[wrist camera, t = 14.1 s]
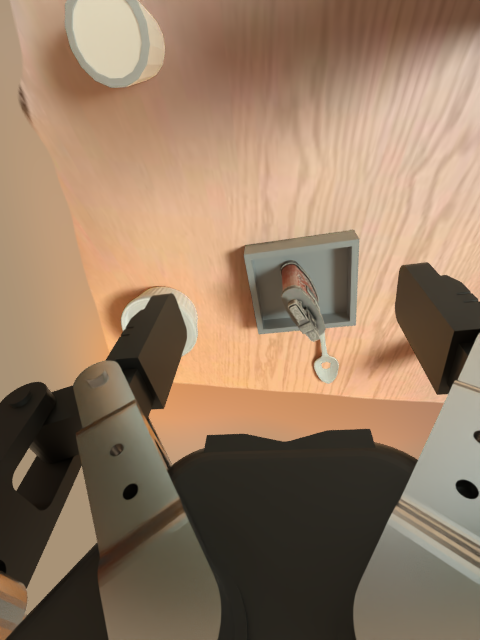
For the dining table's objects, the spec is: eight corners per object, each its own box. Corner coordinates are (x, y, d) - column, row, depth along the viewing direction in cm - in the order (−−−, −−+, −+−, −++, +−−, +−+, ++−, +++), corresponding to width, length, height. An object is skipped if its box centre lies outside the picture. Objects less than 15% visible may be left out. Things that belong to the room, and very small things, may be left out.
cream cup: (173, 3, 29) (149, -17, 23) (170, 94, 33) (149, 96, 27) (98, -13, 28) (56, -38, 23) (104, 80, 33) (70, 79, 27)
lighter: (323, 298, 45) (334, 343, 37) (302, 308, 47) (309, 354, 39) (296, 255, 42) (302, 294, 34) (274, 267, 43) (275, 308, 35)
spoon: (315, 378, 57) (316, 385, 55) (298, 280, 45) (299, 286, 44) (339, 376, 56) (341, 383, 54) (328, 275, 44) (330, 280, 43)
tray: (353, 229, 40) (359, 239, 37) (351, 313, 47) (355, 325, 45) (245, 245, 42) (243, 254, 40) (259, 322, 50) (258, 334, 47)
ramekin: (129, 274, 46) (115, 293, 42) (204, 284, 46) (197, 304, 42) (136, 332, 53) (124, 354, 49) (201, 341, 53) (195, 363, 49)
